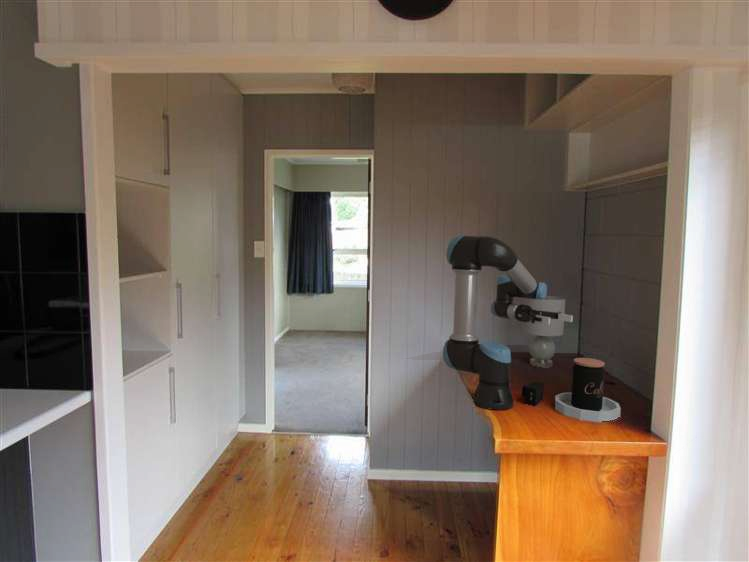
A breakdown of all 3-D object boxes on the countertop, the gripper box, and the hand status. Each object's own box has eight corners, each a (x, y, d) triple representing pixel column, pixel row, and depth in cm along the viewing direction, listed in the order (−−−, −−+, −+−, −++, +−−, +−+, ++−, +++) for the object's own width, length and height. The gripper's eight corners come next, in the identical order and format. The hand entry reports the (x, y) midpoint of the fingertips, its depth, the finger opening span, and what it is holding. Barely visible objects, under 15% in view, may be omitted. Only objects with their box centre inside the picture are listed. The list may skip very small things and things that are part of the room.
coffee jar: (584, 414, 169) (587, 365, 168) (564, 404, 179) (567, 358, 178) (608, 412, 172) (611, 364, 170) (588, 402, 182) (590, 357, 181)
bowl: (602, 426, 160) (603, 416, 160) (543, 408, 177) (544, 399, 177) (629, 413, 174) (630, 403, 174) (572, 397, 191) (573, 389, 191)
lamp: (516, 359, 253) (519, 294, 250) (554, 360, 252) (557, 295, 249) (526, 369, 233) (530, 299, 230) (567, 371, 232) (571, 300, 229)
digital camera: (529, 397, 191) (530, 380, 190) (542, 399, 188) (543, 382, 187) (520, 403, 182) (521, 386, 182) (535, 406, 179) (535, 389, 179)
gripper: (539, 319, 213) (580, 326, 194) (499, 322, 200) (538, 331, 182) (540, 302, 212) (581, 309, 194) (500, 305, 200) (539, 312, 181)
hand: (561, 319), depth 188 cm, fingers open, 13 cm apart
